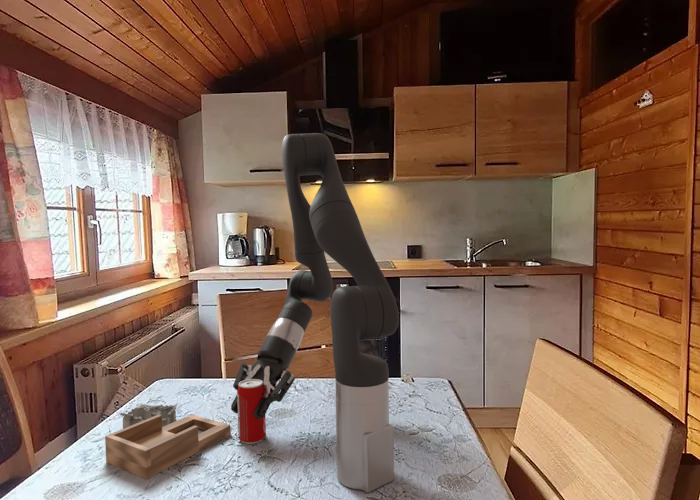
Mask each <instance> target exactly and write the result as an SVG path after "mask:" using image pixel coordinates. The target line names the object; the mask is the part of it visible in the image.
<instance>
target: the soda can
mask: <svg viewBox="0 0 700 500" xmlns="http://www.w3.org/2000/svg"><path fill="white" fill-rule="evenodd" d="M236 391H237V392H236V395H237V404H238V414H237V427H238V428H237V431H238V435H237V436H238V440H239V441H240V442H241V443H242V444H246V445H253V444H258V443H261V442H262V441H263V440H264V439H265V437H266V436H267V429H266V421H267V420H266V415H265V416H264V417H262V419H261V420H259V419H257V418H256V417H254V415H253V414H254V411H255V409H256V407H257V405H258V403H259V401H260V400H261V398H264V397H263V393H264V387H263V382H262V380H259V379H248V380H244V381H241V382H239V384H238V390H236Z"/></svg>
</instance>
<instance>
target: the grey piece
mask: <svg viewBox="0 0 700 500" xmlns="http://www.w3.org/2000/svg"><path fill="white" fill-rule="evenodd" d="M177 406H178V403H175V404H173V405H172V404H170V405H165V406H164V405H163V404H159V405H155V404H154V405H149V404H143V403H142V404H140V405H138V406H136V407H134V408H132V409H131V410H130V411H127V413H125V412H120V414H119V416H121V417H122V429H124V428H126V427H129V426H131V425H134V424H136V423H139V422H141V421H144V420H146V419H149V418H151V417H154V416H156V415H161V416H162V427H164V426H166V425H168V424H171V423H173V422H175V421H177V415H176V410H177Z"/></svg>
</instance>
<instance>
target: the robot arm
mask: <svg viewBox="0 0 700 500" xmlns="http://www.w3.org/2000/svg"><path fill="white" fill-rule="evenodd" d="M281 159H282V160H281V162H282V168H283V175H284V181H285V186H286V187H285V188H286V192H287V198H288V204H289V208H290V214H291V221H292V229H293V239H294V240H293V243H294V246H293V247H294V257H295V260H296V262H298V263H299V264H301V265H303V266H305V267H307V268H308V270H304V269H299V270H297V271H296V272H294V273H293V274H292V276H291V277H290V279H289V281H288V288H287V292H286V293H287V294H286V297H285V299H284V300H285V301H284V305H283V307H282V309H281V310H280V313H279V314H278V317H277V318H276V320H275V321H274V323H273V324H272V326H271V327H270V329H269V331H268V332H267V335H266V336H265V338H264V341H263V342H262V344H261V345H260V348H259V350H258V351H257V359H256V360H255V361H254V362H253V363H252V364H246V363H245V362H242V363H241V364H240V367H239V369H238V372H237V373H236V377H235V380H234V382H233V385H232V388H233V389H235V391H237V390H238V384H239V382H241V381H244V380H248V379H259V380H262V382H263V387H264V393H263V397H264V398H261V400H260V401H259V403H258V405H257V407H256V409H255V411H254V414H253V415H254V417H256V418H257V419H259V420H261V419H262V417H264V416H265V417H266V414H267V411H268V410H269V407H270V406H271V404H273V403H274V402H278V403H280V402H282V400H283V399H284V398H285V396H286V394H287V393H288V391H289V390H290V388H291V386H292V385H293V383H294V382H295V380H296V377H295V375H293V373H292V372H291V371H289V370H288V369H289V367H290V366H291V364H292V362H293V359H294V357H295V356H296V353H297V352H298V349H299V347H300V345H301V343H302V341H303V337H304V334H305V332H306V330H307V328H308V326H309V324H310V322H311V319H312V316H313V310H312V308H311V307H310V306H309V305H308V304H307V303H305V302H303V300H308V301H314V302H318V303H321V302H322V303H323V302H326V301H328V300H329V299H330V298H331V300H330V323H331V324H330V325H331V339H332V356H333V358H332V359H333V365H334V373H335V374H334V381H335V382H334V385H335V386H334V387H335V390H334V391H335V394H334V395H335V399H334V400H335V429H336V430H335V435H336V436H335V442H336V443H335V444H336V445H335V446H336V451H335V452H336V475H337V476H336V478H337V480H338V481H339V483H340V484H342V485H343V486H345V487H347V488H350V489H354V490H359V491H360V490H362V491H363V492H365V493H370V492H372V491H374V490H375V489H378V488H380V487H383V486H384V485H387V484H389V483H391V482H392V481H394V480H395V454H394V450H395V449H394V442H395V441H394V438H395V437H394V426H393V424H391V423H390V400H389V399H390V395H389V394H390V393H389V392H390V387H389V386H390V385H389V383H390V381H389V378H390V377H389V375H390V374H389V373H390V372H389V370H390V369H389V363H388V362H387V361H386V360H385V359H383V358H381V357H379V356H376V355H372V354H369V353H365V352H362V351H361V347H360V342H359V341H363V340H373V339H380V338H385V337H389V336H392V335H393V334H394V333H395V332H396V331H397V329H398V327H399V324H400V313H399V309H398V308H399V307H398V305H397V300H396V297H395V295H394V293H393V290H392V289H391V287H390V285H389V283H388V281H387V279H386V277H385V275H384V274H383V272H382V270H381V268H380V266H379V264H378V262H377V260H376V258H375V257H374V254H373V252H372V249H371V248H370V246H369V242H368V240H367V238H366V236H365V233H364V231H363V227H362V225H361V222H360V219H359V217H358V214H357V212H356V210H355V207H354V205H353V203H352V200H351V198H350V196H349V194H348V191H347V188H346V185H345V184H344V181H343V178H342V176H341V172H340V169H339V166H338V165H339V164H338V162H337V158H336V155H335V151H334V148H333V145H332V142H331V140H330V138H329V136H327V135H326V134H324V133H319V132H312V133H291V134H286V135H285V136H284V138H283V139H282V143H281ZM315 175H316V176H320V177H321V178H322V181H321V184H320V186H319V188H318V190H317V191H316V194H315V195H314V198H313V199H312V201H311V204H310V203H309V202H308V200H307V198H306V196H305V195H304V192H303V189H302V186H301V181H300V177H301V176H303V177H304V176H315ZM325 254H327V255H328V256H329V257H330V258H331V259H332V260H334V262H336V263H337V264H338V265H340V266H341V267H342V268H343V269H344V270H346V272H347V273H348V274H350V275H351V277H352V279H354V282H355V283H356V285H352V286H351V285H350V286H341V287H338V288H336V289H335V290H334V291H333V288H334V282H333V277H332V274H331V271H330V268H329V265H328V262H327V261H328V260H327V259H326V256H325ZM230 406H231V408H230V410H231V411H232V412H233V413H234V414H236V415H238V404H237V394H236V395H235V397H234V398H233V400H232V403H231V405H230Z"/></svg>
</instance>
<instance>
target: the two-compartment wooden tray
mask: <svg viewBox="0 0 700 500" xmlns="http://www.w3.org/2000/svg"><path fill="white" fill-rule="evenodd" d="M143 420H144V419H143ZM231 431H232V430H231V425H230V424H227V423H224V422H220V421H217V420H214V419H210V418H207V417H202V416H199V415H197V414H189V415H187V416H184V417H183V418H180V419H178V420H176V421H175V422H170V424H168V425H166V426H164V427H162V416H161V415H156V416H154V417H151V418H149V419H146V420H144V421H141V422H139V423H136V424H134V425H131V426H129V427H126V428H122V429H119V430H117V431H114V432H113V433H112V432H111V433H109V434H107V435H105V436H104V441H105V444H104V445H105V463H107V464H110V465H112V466H114V467H117V468H119V469H121V470H124V471H125V472H128V473H131V474H134V475H135V476H139V477H141V478H143V479H145V480H148V479H149V478H151V477H153V476H155V475H157V474H159V473H161V472H163V471H165V470H167V469H168V468H170V467H172V466H174V465H177V464H178V463H179V462H182V461H183V460H186V459H188V458H189V457H191V456H193V455H195V454H197V453H199V452H200V451H203V450H205V449H206V448H208V447H210V446H212V445H213V444H215V443H217V442H219V441H222V440H224V439H225V438H227V437H229V436H230V435H232V433H231Z"/></svg>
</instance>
